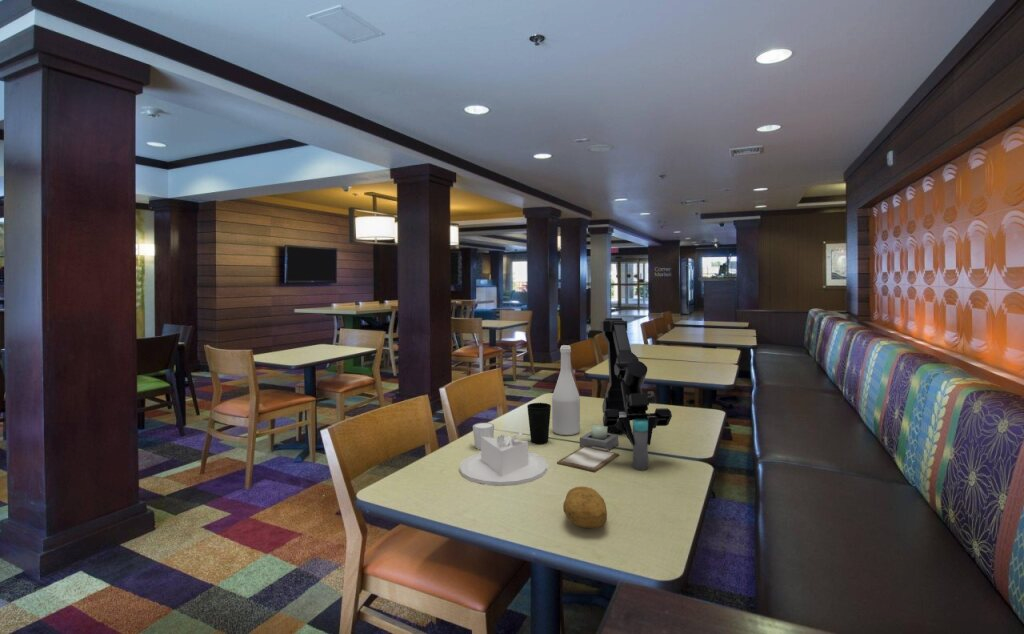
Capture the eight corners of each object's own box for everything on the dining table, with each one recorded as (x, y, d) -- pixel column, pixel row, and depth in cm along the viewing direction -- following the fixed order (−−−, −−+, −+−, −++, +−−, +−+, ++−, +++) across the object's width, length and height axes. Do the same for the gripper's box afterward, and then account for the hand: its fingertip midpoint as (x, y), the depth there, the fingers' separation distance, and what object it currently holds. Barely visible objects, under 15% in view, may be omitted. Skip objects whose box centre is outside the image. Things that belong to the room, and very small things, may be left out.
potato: (563, 536, 107) (563, 504, 106) (563, 508, 120) (562, 479, 119) (608, 537, 106) (608, 505, 106) (603, 509, 119) (603, 480, 118)
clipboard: (583, 448, 161) (583, 444, 161) (619, 455, 154) (619, 451, 154) (557, 463, 148) (557, 459, 148) (594, 472, 141) (594, 467, 141)
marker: (636, 464, 147) (636, 417, 146) (650, 467, 144) (650, 419, 143) (630, 468, 143) (630, 421, 142) (644, 471, 141) (644, 423, 140)
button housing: (592, 439, 170) (592, 430, 169) (618, 444, 164) (618, 435, 164) (579, 446, 162) (579, 437, 162) (606, 452, 157) (606, 442, 157)
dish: (565, 466, 146) (564, 427, 146) (504, 495, 128) (503, 450, 127) (503, 448, 163) (502, 413, 162) (441, 470, 145) (440, 431, 144)
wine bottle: (581, 435, 174) (581, 347, 171) (553, 436, 174) (552, 348, 171) (578, 427, 183) (577, 343, 181) (551, 427, 183) (550, 344, 181)
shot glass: (478, 451, 159) (478, 429, 159) (469, 445, 165) (469, 424, 165) (498, 448, 162) (498, 426, 162) (489, 442, 168) (488, 421, 168)
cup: (551, 438, 172) (551, 402, 171) (551, 445, 164) (550, 408, 163) (528, 437, 172) (528, 402, 171) (526, 445, 165) (526, 408, 164)
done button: (595, 434, 167) (595, 423, 166) (609, 437, 164) (609, 426, 163) (588, 438, 163) (588, 427, 162) (602, 441, 160) (602, 430, 159)
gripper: (604, 381, 146) (611, 431, 136) (670, 380, 146) (682, 430, 136) (600, 401, 155) (606, 450, 144) (662, 401, 154) (673, 449, 144)
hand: (641, 444), depth 142 cm, fingers closed on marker, 4 cm apart
